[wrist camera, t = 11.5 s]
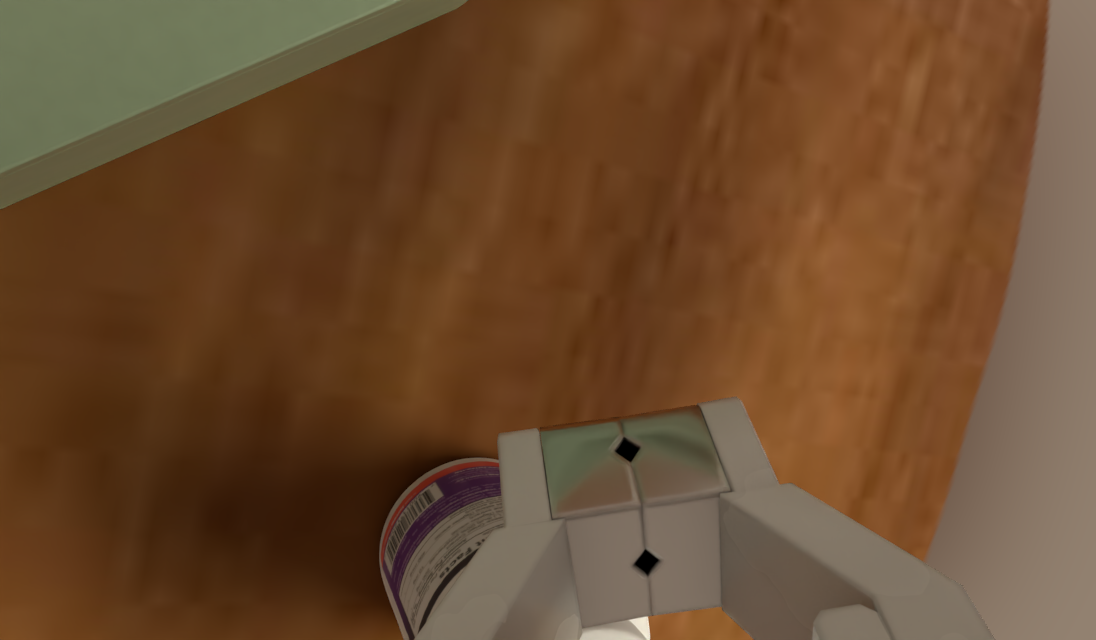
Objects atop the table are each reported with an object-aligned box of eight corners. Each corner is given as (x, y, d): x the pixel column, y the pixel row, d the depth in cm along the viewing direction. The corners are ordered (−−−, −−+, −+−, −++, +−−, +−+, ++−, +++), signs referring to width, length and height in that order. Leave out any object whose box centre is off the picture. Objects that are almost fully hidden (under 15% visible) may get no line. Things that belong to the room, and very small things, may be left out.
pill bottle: (569, 593, 29) (726, 790, 19) (399, 653, 27) (483, 897, 18) (536, 429, 27) (686, 558, 18) (356, 483, 26) (422, 652, 17)
